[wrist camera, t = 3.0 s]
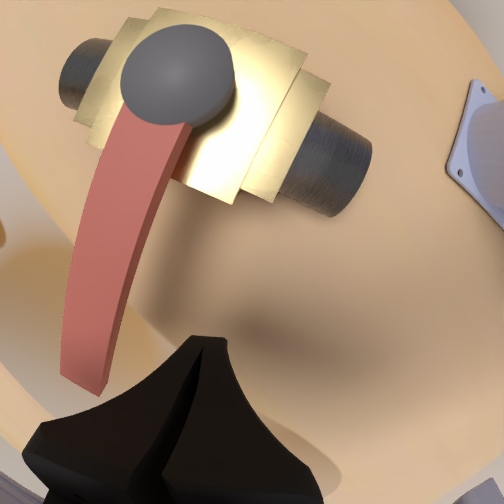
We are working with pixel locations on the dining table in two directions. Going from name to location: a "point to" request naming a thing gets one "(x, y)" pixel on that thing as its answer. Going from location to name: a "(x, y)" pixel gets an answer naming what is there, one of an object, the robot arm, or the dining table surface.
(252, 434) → the robot arm
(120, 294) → the lever
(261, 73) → the valve fixture
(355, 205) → the dining table surface
